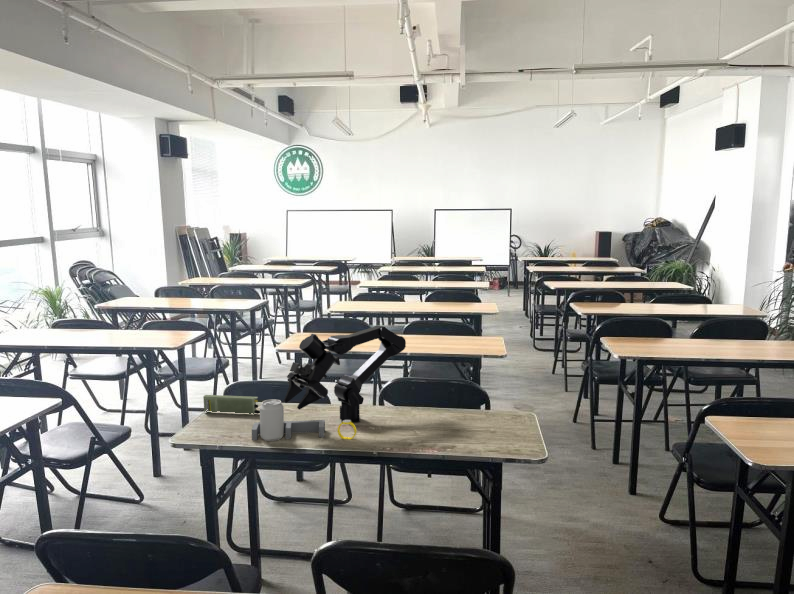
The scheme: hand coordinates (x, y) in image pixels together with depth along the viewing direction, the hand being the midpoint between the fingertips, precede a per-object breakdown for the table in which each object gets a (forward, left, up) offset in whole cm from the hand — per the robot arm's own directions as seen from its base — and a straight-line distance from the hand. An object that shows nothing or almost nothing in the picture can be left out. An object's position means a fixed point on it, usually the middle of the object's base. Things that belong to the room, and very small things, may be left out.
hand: (291, 405), depth 189 cm
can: (+6, +4, -10) cm, 12 cm away
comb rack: (+1, +2, -9) cm, 10 cm away
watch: (-18, +7, -10) cm, 22 cm away
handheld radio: (+21, -24, -10) cm, 33 cm away
